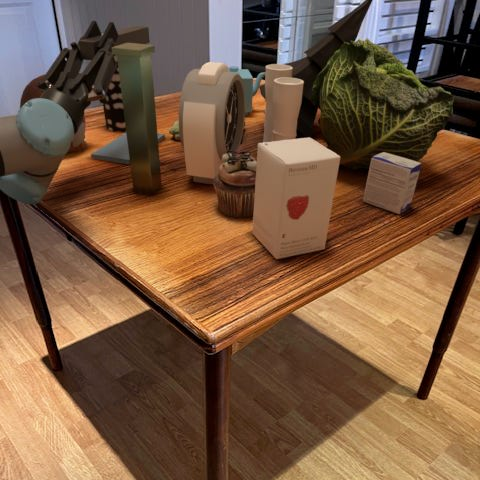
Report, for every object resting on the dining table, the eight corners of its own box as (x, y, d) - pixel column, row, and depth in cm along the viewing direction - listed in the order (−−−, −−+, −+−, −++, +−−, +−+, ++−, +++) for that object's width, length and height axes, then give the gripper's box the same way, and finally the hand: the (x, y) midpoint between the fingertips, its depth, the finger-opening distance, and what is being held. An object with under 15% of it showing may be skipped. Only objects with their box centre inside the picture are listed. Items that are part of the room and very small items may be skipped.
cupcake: (274, 216, 82) (279, 160, 76) (221, 222, 80) (221, 165, 74) (257, 194, 89) (260, 140, 83) (208, 199, 87) (207, 144, 81)
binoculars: (295, 182, 94) (306, 84, 83) (269, 182, 94) (276, 84, 83) (282, 151, 108) (290, 64, 96) (259, 151, 107) (264, 63, 96)
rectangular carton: (275, 261, 71) (284, 163, 61) (250, 234, 77) (255, 141, 68) (326, 250, 74) (342, 155, 64) (299, 224, 80) (309, 135, 71)
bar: (95, 60, 86) (92, 42, 84) (81, 59, 87) (78, 40, 85) (149, 42, 102) (148, 26, 100) (137, 41, 103) (136, 25, 101)
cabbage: (403, 212, 100) (474, 113, 82) (296, 186, 95) (347, 75, 77) (382, 144, 115) (438, 49, 97) (288, 119, 110) (330, 13, 92)
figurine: (103, 156, 102) (91, 81, 93) (26, 162, 99) (5, 84, 89) (99, 135, 113) (88, 65, 103) (30, 139, 109) (11, 68, 100)
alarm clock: (220, 193, 89) (220, 76, 76) (178, 187, 91) (171, 72, 78) (245, 161, 102) (248, 56, 90) (208, 156, 104) (206, 53, 91)
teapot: (202, 104, 137) (201, 60, 130) (262, 104, 138) (265, 61, 131) (204, 120, 124) (203, 73, 117) (271, 120, 126) (274, 73, 119)
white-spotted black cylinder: (123, 119, 123) (112, 31, 110) (146, 126, 119) (138, 35, 107) (99, 127, 118) (84, 35, 105) (122, 134, 114) (110, 39, 101)
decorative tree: (300, 154, 116) (409, 20, 100) (254, 117, 110) (362, -32, 93) (290, 134, 127) (386, 11, 111) (247, 100, 121) (343, -36, 105)
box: (411, 208, 87) (423, 162, 81) (399, 215, 84) (411, 169, 79) (373, 194, 91) (383, 150, 85) (361, 201, 88) (370, 156, 83)
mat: (128, 164, 99) (128, 159, 99) (91, 158, 101) (90, 153, 101) (165, 138, 113) (164, 134, 112) (131, 133, 115) (130, 129, 114)
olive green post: (153, 196, 87) (140, 50, 72) (129, 192, 88) (111, 47, 73) (165, 186, 91) (154, 45, 76) (142, 182, 92) (126, 42, 77)
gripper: (27, 132, 87) (77, 43, 94) (104, 143, 83) (150, 49, 91) (3, 99, 80) (59, 6, 87) (86, 110, 76) (137, 11, 84)
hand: (105, 28), depth 89 cm, fingers closed on bar, 3 cm apart
